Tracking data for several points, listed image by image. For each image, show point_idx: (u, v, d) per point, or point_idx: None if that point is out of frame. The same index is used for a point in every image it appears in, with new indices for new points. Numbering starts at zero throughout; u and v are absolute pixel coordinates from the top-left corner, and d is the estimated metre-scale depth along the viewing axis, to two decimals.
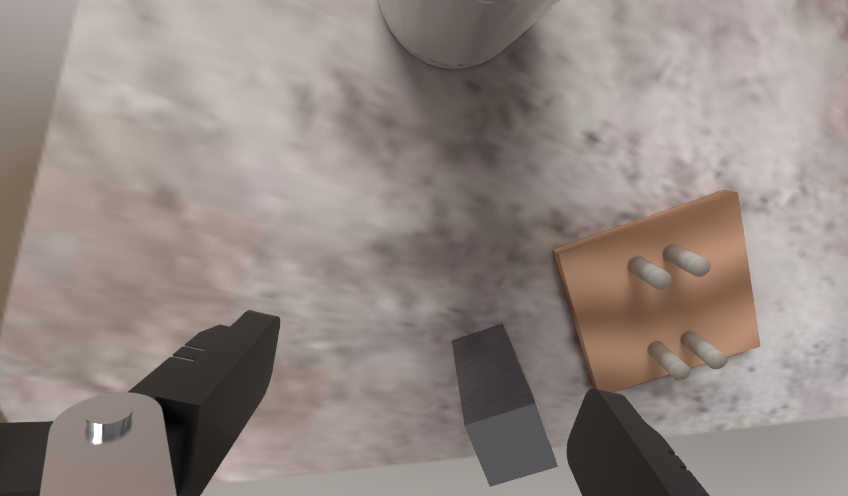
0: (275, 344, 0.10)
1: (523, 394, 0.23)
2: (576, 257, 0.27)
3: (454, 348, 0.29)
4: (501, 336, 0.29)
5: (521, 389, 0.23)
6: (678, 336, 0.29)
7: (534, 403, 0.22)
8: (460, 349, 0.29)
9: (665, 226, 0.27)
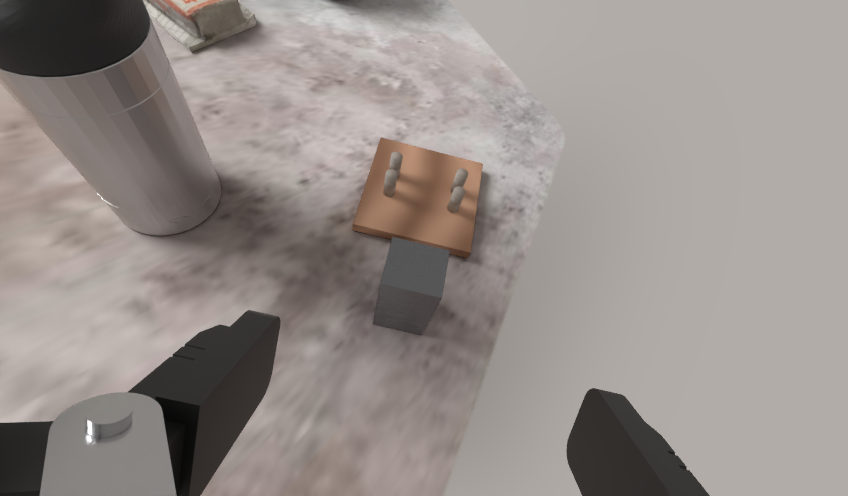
0: (275, 344, 0.10)
1: None
2: (361, 216, 0.40)
3: (374, 318, 0.36)
4: None
5: None
6: (451, 194, 0.44)
7: (392, 237, 0.31)
8: None
9: (375, 170, 0.44)
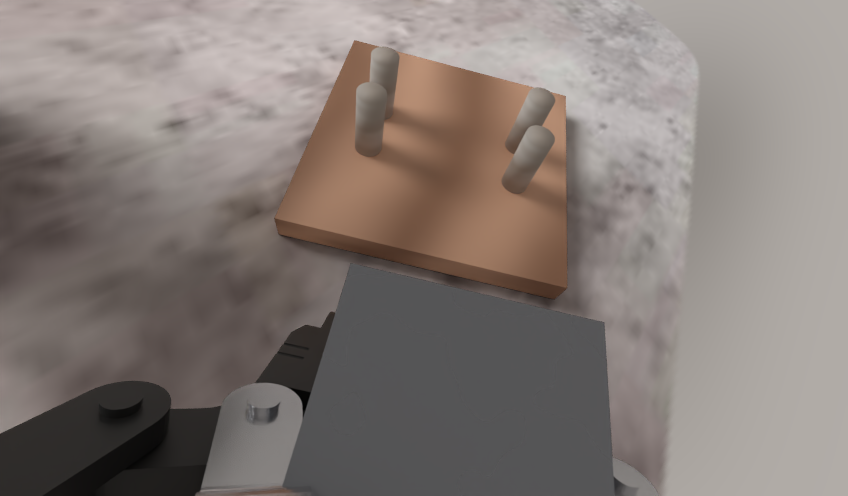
0: None
1: None
2: (299, 200, 0.16)
3: None
4: None
5: None
6: (508, 153, 0.20)
7: (350, 268, 0.07)
8: None
9: (340, 101, 0.20)
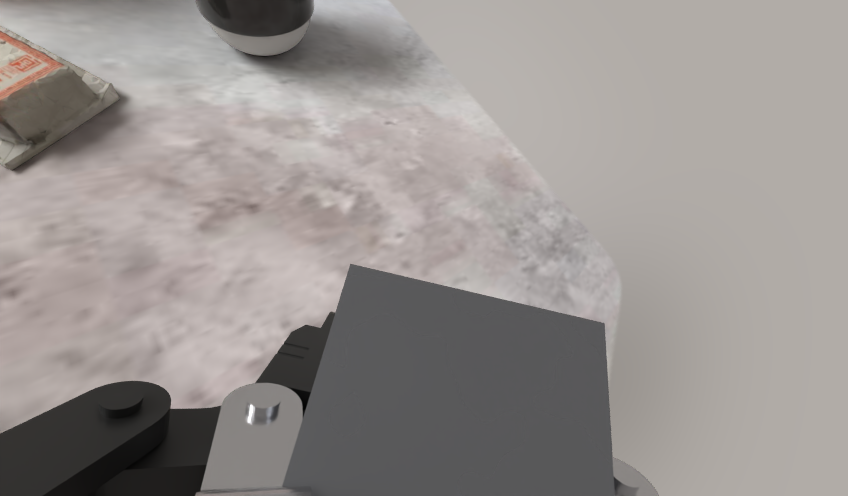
0: None
1: None
2: None
3: None
4: None
5: None
6: None
7: (350, 268, 0.07)
8: None
9: None
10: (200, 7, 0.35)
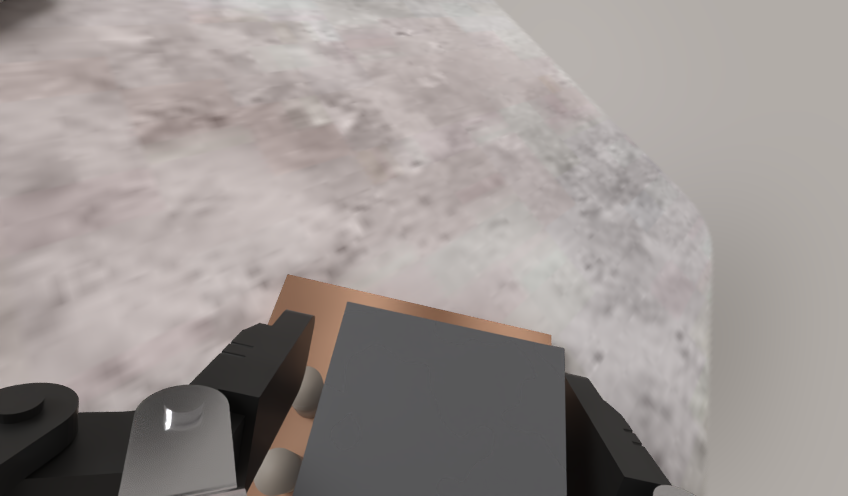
0: (310, 342, 0.10)
1: None
2: None
3: None
4: None
5: None
6: None
7: (347, 305, 0.08)
8: None
9: None
10: None
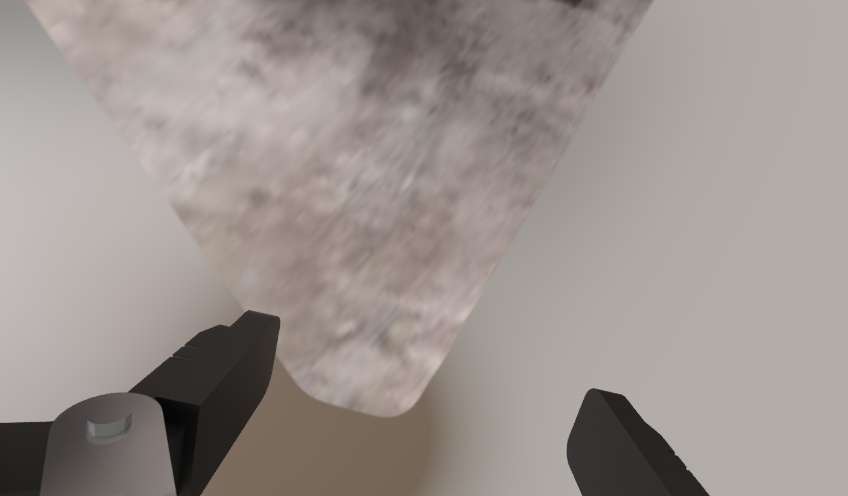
0: (275, 344, 0.10)
1: None
2: None
3: None
4: None
5: None
6: None
7: None
8: None
9: None
10: None
